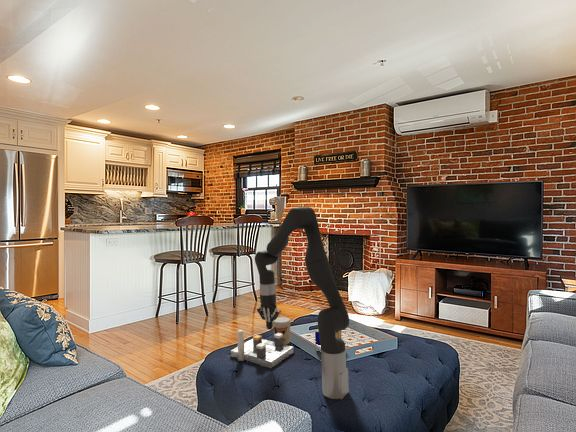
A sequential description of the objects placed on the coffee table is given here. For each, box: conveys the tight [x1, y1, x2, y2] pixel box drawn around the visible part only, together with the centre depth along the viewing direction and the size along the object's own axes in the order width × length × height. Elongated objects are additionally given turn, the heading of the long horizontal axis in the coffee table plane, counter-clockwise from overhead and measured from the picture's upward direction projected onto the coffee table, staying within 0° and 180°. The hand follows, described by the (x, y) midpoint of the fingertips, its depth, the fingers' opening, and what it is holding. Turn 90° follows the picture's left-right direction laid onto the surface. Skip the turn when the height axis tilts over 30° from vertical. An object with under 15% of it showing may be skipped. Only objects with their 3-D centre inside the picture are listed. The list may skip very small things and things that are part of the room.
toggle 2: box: [256, 343, 266, 358], centre depth 169 cm, size 3×3×5 cm
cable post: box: [236, 329, 245, 362], centre depth 172 cm, size 4×4×14 cm
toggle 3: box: [273, 333, 283, 347], centre depth 180 cm, size 3×3×5 cm
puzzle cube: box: [314, 329, 343, 345], centre depth 181 cm, size 10×10×10 cm
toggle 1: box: [252, 334, 263, 348], centre depth 179 cm, size 3×3×5 cm
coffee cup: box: [272, 316, 292, 345], centre depth 192 cm, size 9×9×12 cm
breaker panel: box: [230, 338, 294, 369], centre depth 178 cm, size 24×18×3 cm
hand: (269, 328), depth 174 cm, fingers closed
